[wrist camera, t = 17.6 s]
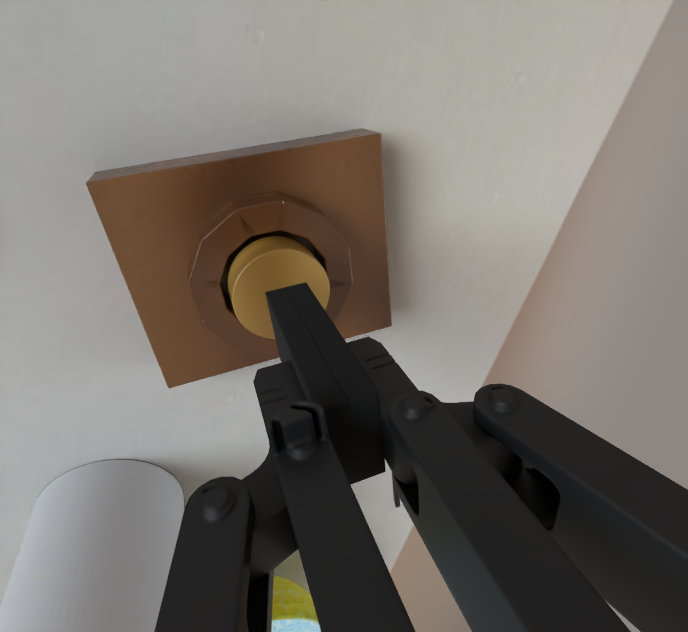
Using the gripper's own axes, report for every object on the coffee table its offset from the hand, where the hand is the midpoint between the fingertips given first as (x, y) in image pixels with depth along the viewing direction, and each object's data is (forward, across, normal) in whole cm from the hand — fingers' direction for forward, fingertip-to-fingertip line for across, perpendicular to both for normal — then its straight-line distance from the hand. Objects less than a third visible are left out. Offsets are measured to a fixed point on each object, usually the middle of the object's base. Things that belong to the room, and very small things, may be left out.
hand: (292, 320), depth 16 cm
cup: (+8, -12, -14) cm, 20 cm away
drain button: (+4, 0, 0) cm, 4 cm away
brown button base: (+7, 0, 0) cm, 7 cm away
